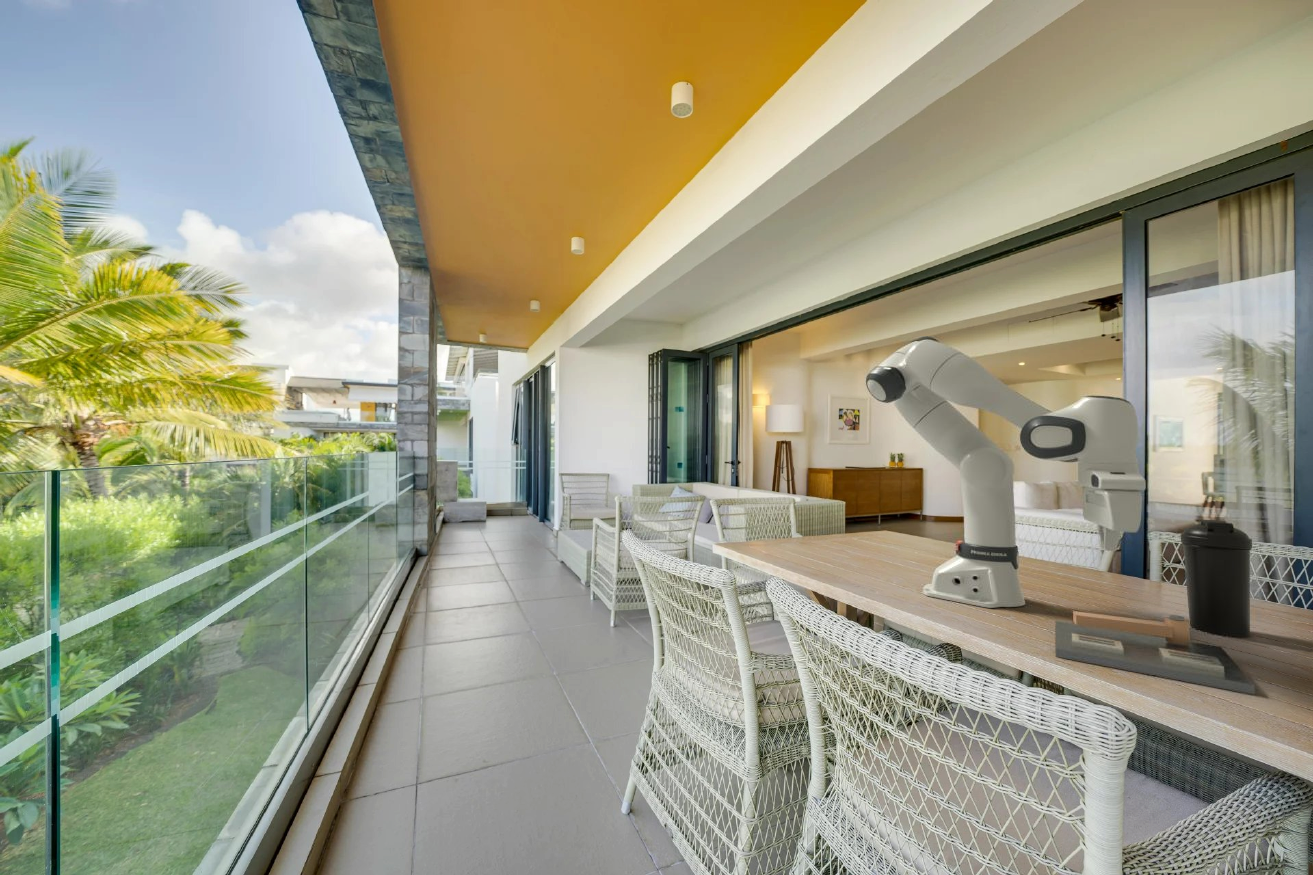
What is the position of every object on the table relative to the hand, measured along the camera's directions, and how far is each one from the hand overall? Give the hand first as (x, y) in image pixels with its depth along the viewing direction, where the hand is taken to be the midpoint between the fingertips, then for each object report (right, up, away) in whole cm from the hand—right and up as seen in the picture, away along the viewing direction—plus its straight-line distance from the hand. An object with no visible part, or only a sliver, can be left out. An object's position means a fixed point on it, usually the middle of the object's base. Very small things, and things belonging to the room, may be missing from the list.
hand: (1108, 549), depth 98 cm
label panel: (+1, -18, -5) cm, 19 cm away
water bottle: (+31, -19, +8) cm, 37 cm away
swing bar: (+4, -17, 0) cm, 17 cm away
